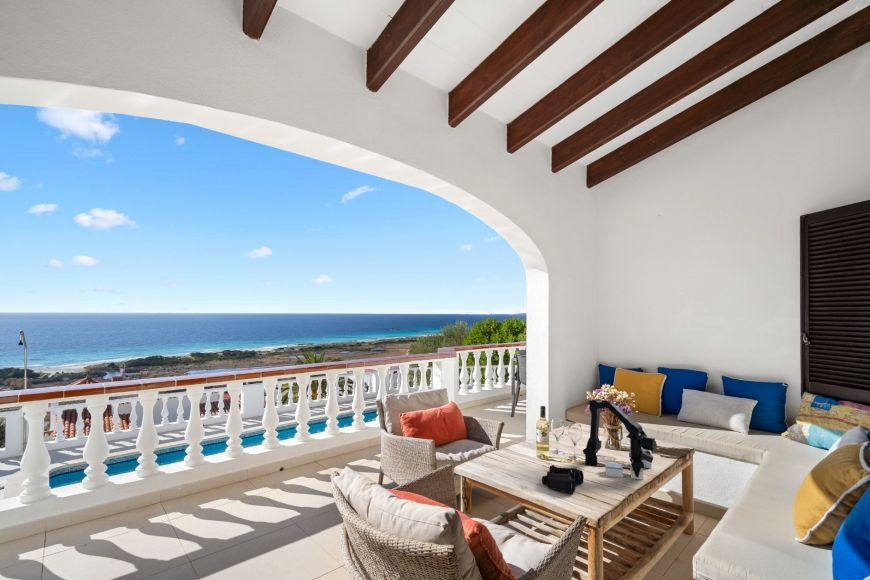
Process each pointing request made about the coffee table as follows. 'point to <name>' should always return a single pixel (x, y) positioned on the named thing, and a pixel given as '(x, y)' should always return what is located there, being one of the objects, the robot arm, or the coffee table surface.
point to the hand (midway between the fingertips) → (636, 475)
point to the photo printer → (646, 463)
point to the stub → (635, 475)
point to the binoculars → (563, 478)
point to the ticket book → (614, 470)
